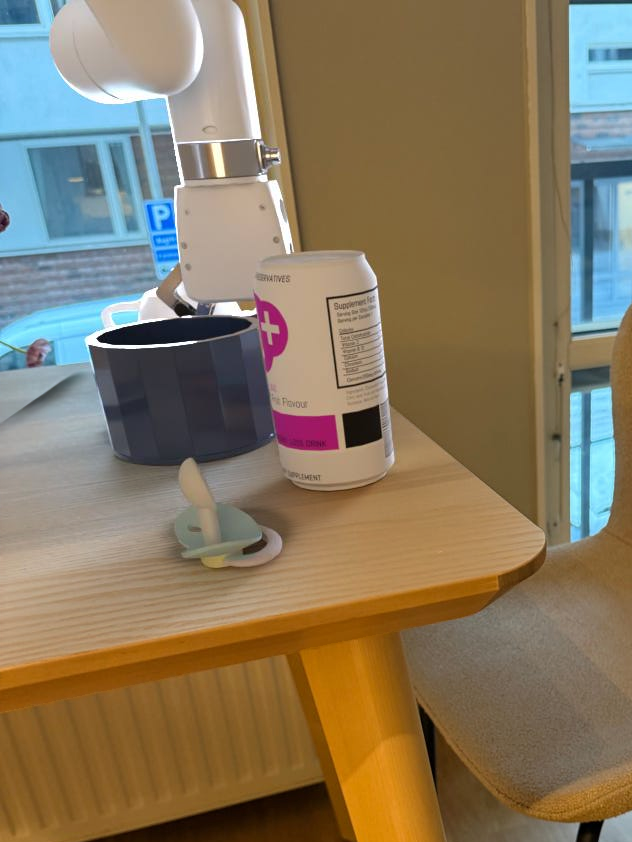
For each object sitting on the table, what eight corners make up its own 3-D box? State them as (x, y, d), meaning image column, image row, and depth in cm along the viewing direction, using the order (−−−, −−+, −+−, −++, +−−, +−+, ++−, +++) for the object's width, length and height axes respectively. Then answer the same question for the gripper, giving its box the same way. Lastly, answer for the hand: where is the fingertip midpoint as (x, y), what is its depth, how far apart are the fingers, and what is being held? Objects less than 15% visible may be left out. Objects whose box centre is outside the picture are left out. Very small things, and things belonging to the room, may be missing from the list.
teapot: (288, 342, 115) (275, 254, 110) (290, 363, 104) (276, 266, 99) (120, 358, 112) (100, 268, 107) (106, 380, 101) (82, 281, 96)
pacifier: (271, 528, 60) (175, 543, 58) (258, 433, 57) (156, 445, 55) (295, 570, 54) (189, 588, 52) (282, 465, 51) (169, 480, 49)
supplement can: (289, 500, 64) (252, 269, 57) (279, 465, 71) (245, 255, 64) (404, 484, 66) (383, 257, 58) (383, 452, 73) (362, 246, 66)
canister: (91, 470, 72) (60, 352, 68) (138, 423, 84) (114, 320, 80) (265, 459, 73) (246, 341, 68) (287, 413, 85) (272, 310, 80)
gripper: (324, 159, 86) (347, 356, 94) (135, 170, 85) (175, 367, 94) (315, 161, 79) (341, 373, 88) (111, 173, 79) (157, 385, 87)
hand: (255, 368), depth 91 cm, fingers open, 6 cm apart
